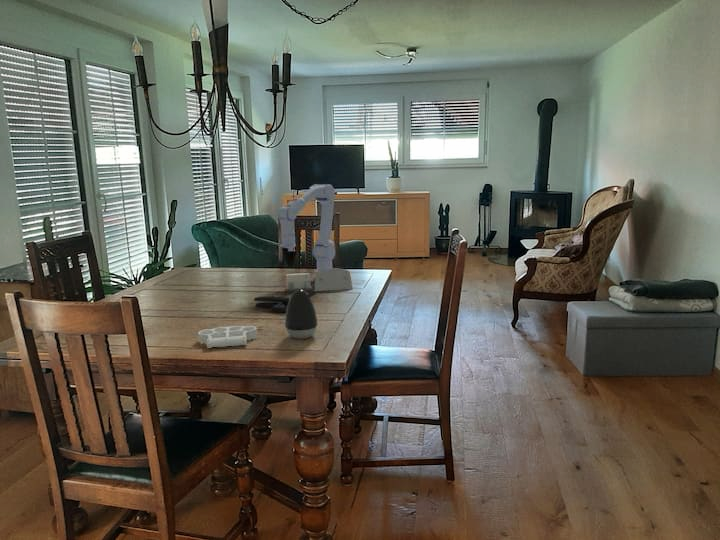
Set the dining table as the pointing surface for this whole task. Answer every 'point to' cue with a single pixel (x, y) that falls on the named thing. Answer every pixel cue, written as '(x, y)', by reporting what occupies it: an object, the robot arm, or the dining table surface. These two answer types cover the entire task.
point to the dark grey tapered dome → (301, 315)
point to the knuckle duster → (227, 336)
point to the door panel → (298, 279)
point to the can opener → (273, 303)
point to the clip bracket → (291, 288)
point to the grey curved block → (332, 279)
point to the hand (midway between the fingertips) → (289, 265)
